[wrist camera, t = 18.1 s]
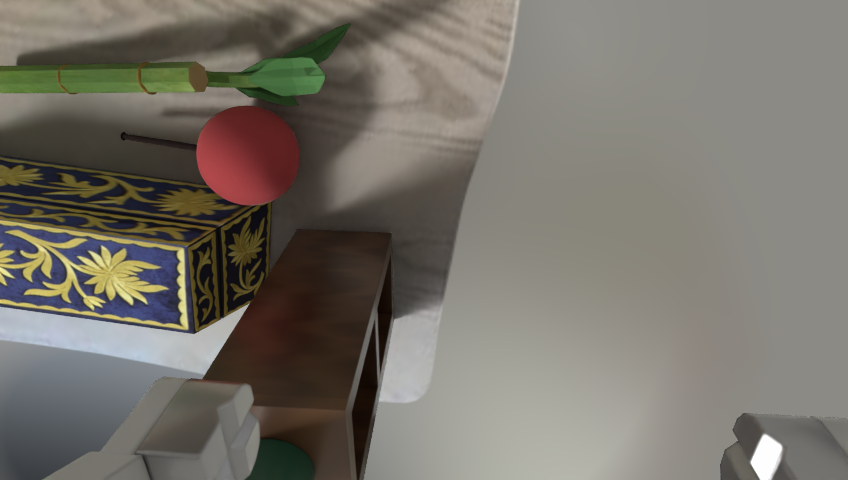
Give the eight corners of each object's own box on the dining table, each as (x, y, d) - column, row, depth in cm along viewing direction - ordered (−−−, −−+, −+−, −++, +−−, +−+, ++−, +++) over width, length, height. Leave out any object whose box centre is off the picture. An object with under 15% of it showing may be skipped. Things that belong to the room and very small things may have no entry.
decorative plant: (-37, 30, 40) (320, 12, 32) (61, 35, 47) (369, 22, 39) (-14, 112, 42) (328, 114, 34) (76, 104, 49) (373, 105, 41)
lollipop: (70, 121, 38) (265, 148, 36) (134, 73, 43) (306, 95, 41) (112, 202, 43) (283, 230, 41) (164, 151, 48) (317, 173, 46)
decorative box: (-58, 147, 47) (-164, 184, 39) (271, 194, 47) (232, 239, 39) (-25, 250, 52) (-113, 301, 44) (272, 292, 52) (238, 351, 44)
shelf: (392, 232, 48) (345, 410, 29) (394, 320, 53) (354, 524, 33) (296, 228, 49) (187, 401, 29) (306, 316, 53) (218, 515, 34)
